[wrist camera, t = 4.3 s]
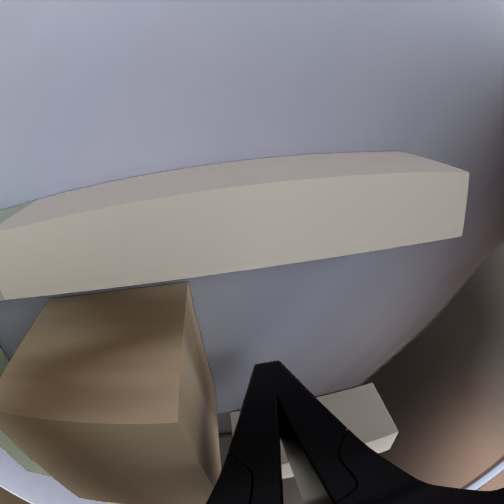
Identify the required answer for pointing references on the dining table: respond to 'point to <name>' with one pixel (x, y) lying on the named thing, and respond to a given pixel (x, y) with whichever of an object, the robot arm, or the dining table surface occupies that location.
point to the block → (117, 397)
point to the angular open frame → (232, 238)
